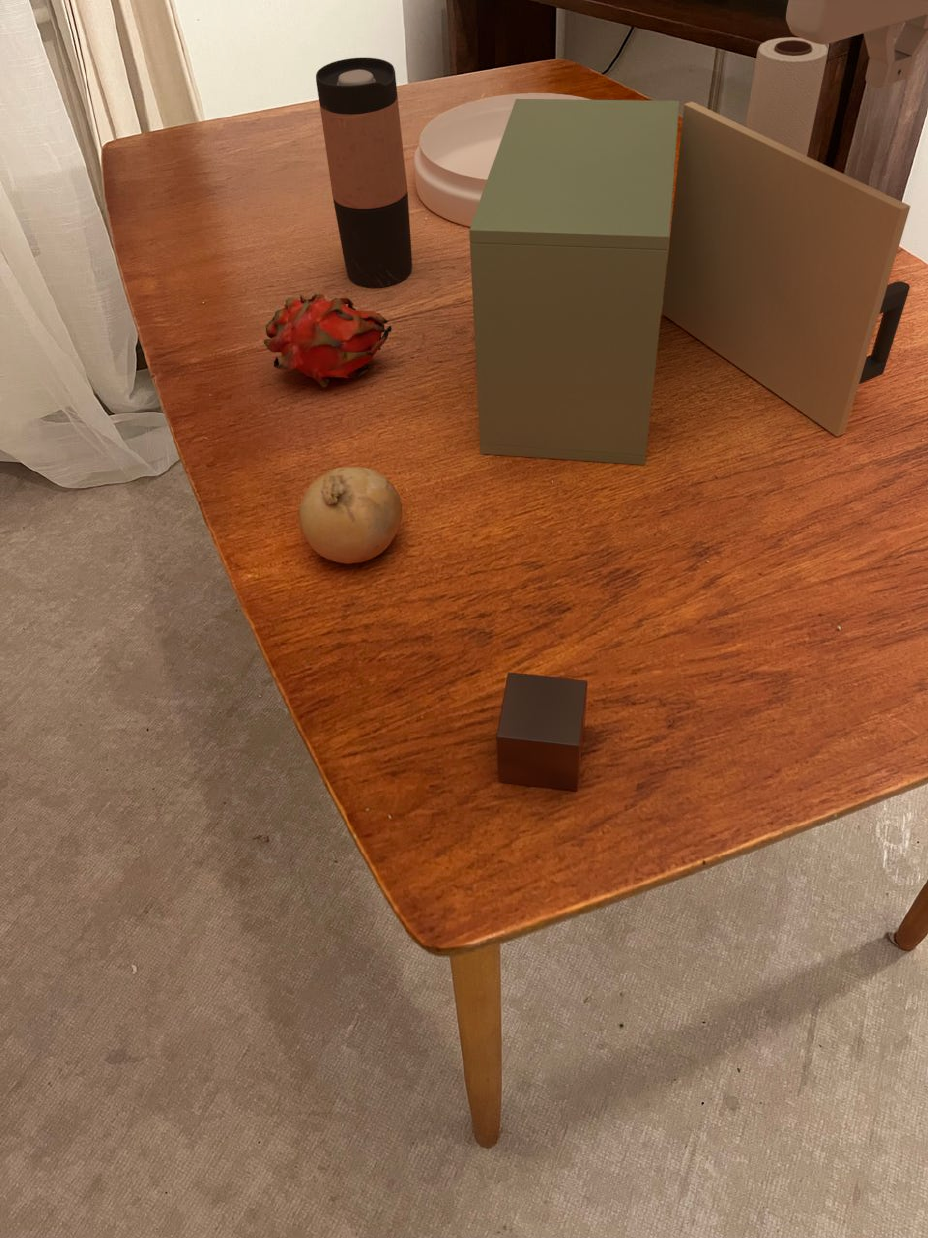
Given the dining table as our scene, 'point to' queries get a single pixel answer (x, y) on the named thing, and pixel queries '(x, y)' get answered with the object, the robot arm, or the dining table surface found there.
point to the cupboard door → (782, 265)
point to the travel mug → (367, 168)
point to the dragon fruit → (325, 337)
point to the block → (541, 731)
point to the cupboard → (572, 278)
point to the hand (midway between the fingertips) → (886, 81)
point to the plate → (464, 153)
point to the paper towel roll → (787, 90)
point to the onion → (350, 514)
